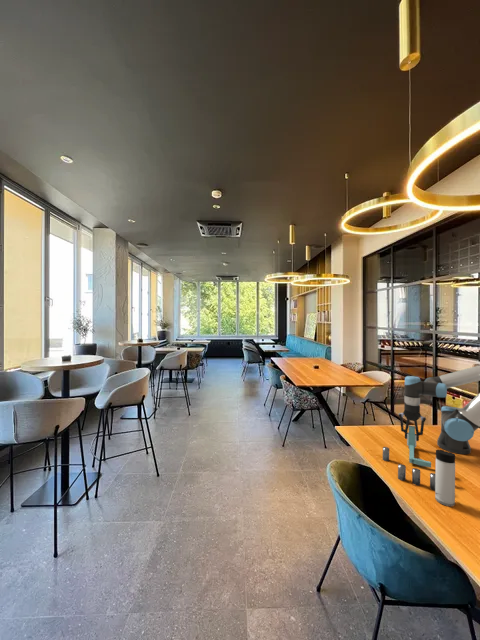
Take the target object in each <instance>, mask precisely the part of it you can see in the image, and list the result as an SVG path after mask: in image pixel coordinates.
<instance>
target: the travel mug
mask: <svg viewBox="0 0 480 640" xmlns="http://www.w3.org/2000/svg"><path fill="white" fill-rule="evenodd" d="M434 492H435V493H434V497H435V501H436V502H438V503H439V504H441V505H442V506H445V507H454V506H455V505H456V453H453V452H449V451H446V450H444V449H436V450H435V491H434Z"/></svg>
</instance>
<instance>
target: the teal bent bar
mask: <svg viewBox="0 0 480 640" xmlns="http://www.w3.org/2000/svg"><path fill="white" fill-rule="evenodd" d="M408 433H409V446H408V449H409V451H408V452H409V454H408V455H409V456H408V457H409V459H408V462H409V463H410V464H415V465H416V464H418V465H417V466H419V465H422V466H421V467H427V468H431V469H432V461H429V460H428V461H427V460H424V459H422V460H420V459H421V458H420V459H416V457H415V449H416V447H415V434H416V429H415V425H410V424H409V426H408Z"/></svg>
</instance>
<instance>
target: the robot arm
mask: <svg viewBox="0 0 480 640" xmlns="http://www.w3.org/2000/svg"><path fill="white" fill-rule="evenodd" d="M479 381H480V365H475V366H472V367H469V368H465V369H461V370H457V371H454V372H450V373H446V374H442V375H438V376H435V377H428V378H425V380H424V381H423V380H421V378H420V377H419V376H415V375H411V376H410V375H407V376H405V377H404V398H403V399H404V406H403V407H404V408H403V409H404V411H403V412H398V417H399V421H400V430H401V432H403V433H404V438H405V439H406V446H408V447H409V425H410V422H411V421H412V422H414V426H415V448H417V442H419V440H420V436H423V435H424V429H425V428H424V427H425V422H426V421H427V418H426V416H424V415H422V414H421V407H420V406H421V396H422V395H423V396H429V397H436V398H447V396H448V395H447V393H448V389H450V388H454V387H458V386H462V385H466V384H467V385H468V384H471V383H475V382H476V383H477V382H479ZM440 415H441V417H440V421H441V422H440V424H441V425H440V434H439V435H438V438H437V441H436V444H437V446H438V447H439V448H440V449H441V450H444V451H446V452H451V453H453V454H458V455H459V454H460V455H469V454H471V452H472V449H471V444H470V442H469V441H470V440H472V438H473V437H474V436H475V435H474V434H475V431H476V430H478V429H479V428H480V392H479V393H478V394H476V395H475V396H474V398H473V399H471V400H470V401H469V402H468V403H467V404H466V405H464V407H456V406H448V405H447V406H446V405H442V407H441V410H440ZM404 417H405V418H406V423H405V427H404V419H403V418H404ZM419 419H420V421H421V422H420V423H421V424H420V430H419V426H418V420H419Z"/></svg>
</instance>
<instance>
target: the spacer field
mask: <svg viewBox="0 0 480 640" xmlns="http://www.w3.org/2000/svg"><path fill="white" fill-rule="evenodd" d="M382 461H384V462H389V461H390V447H387V446H383V447H382ZM406 468H407V467H406V465H404V464H402V463H399V464H397V479H398V480H399V481H402V482H406V479H407V477H406V475H407V473H406V472H407V469H406ZM435 473H436V472H435ZM435 473H434V472H430V473H429V489H430V490H432V491H433V492H435ZM411 475H412V477H411V483H412V484H413V485H415V486H417V487H418V486H420V485H421V470H420V469H419V468H416V467H414V468H412V470H411Z"/></svg>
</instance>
